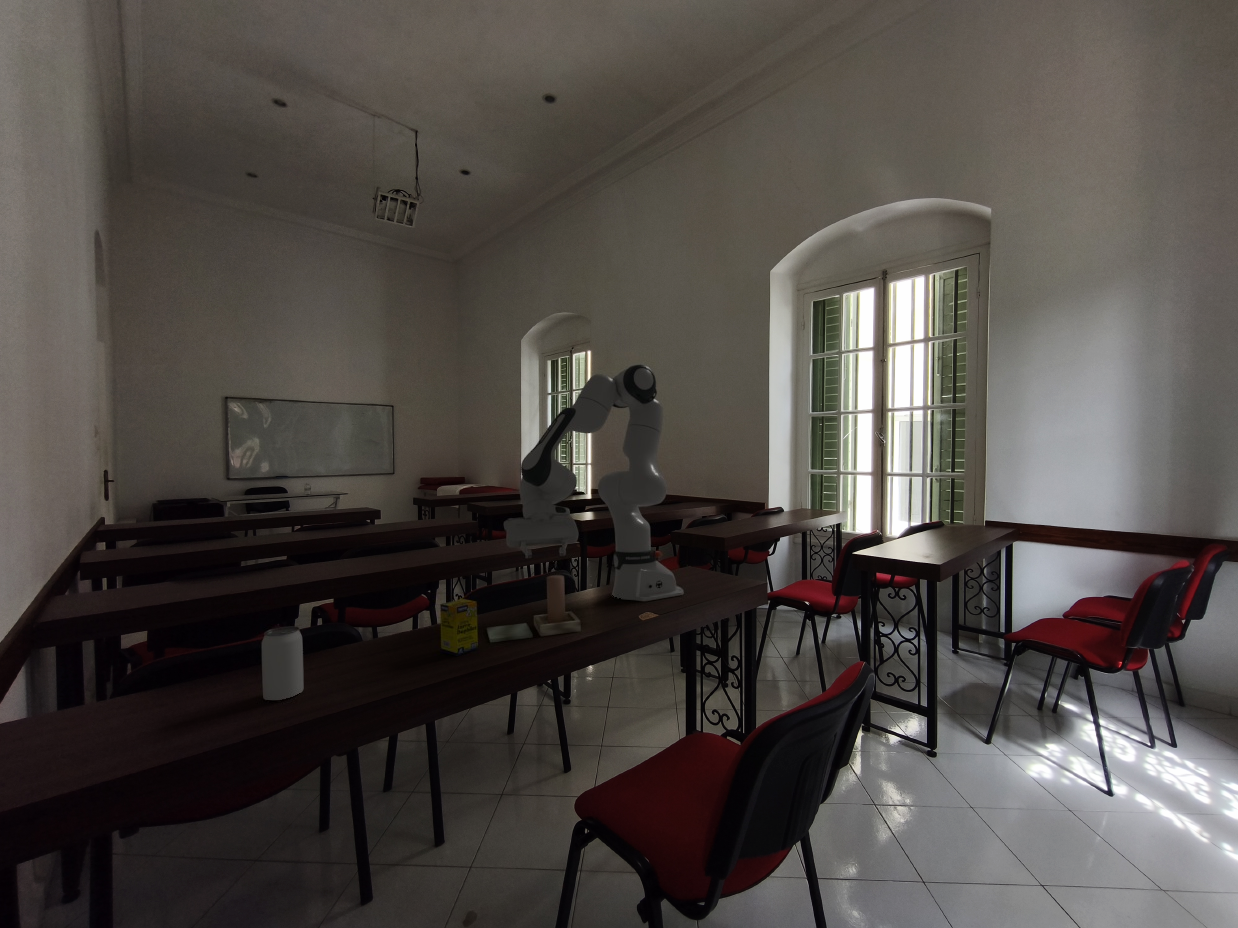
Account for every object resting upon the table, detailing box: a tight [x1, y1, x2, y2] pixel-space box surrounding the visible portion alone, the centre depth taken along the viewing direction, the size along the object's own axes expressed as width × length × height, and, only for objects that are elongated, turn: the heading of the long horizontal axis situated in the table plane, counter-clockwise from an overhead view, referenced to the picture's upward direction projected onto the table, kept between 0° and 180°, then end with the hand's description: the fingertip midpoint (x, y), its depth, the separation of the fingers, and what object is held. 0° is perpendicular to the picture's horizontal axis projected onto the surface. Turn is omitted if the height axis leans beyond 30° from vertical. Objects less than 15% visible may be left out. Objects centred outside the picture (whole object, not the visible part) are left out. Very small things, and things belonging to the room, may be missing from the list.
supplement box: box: [439, 598, 479, 657], centre depth 125 cm, size 6×6×11 cm
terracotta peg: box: [546, 574, 566, 624], centre depth 140 cm, size 4×4×13 cm
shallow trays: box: [486, 611, 582, 643], centre depth 138 cm, size 22×10×2 cm, turn 108°
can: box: [261, 625, 304, 701], centre depth 102 cm, size 6×6×12 cm
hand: (546, 555), depth 151 cm, fingers open, 8 cm apart
